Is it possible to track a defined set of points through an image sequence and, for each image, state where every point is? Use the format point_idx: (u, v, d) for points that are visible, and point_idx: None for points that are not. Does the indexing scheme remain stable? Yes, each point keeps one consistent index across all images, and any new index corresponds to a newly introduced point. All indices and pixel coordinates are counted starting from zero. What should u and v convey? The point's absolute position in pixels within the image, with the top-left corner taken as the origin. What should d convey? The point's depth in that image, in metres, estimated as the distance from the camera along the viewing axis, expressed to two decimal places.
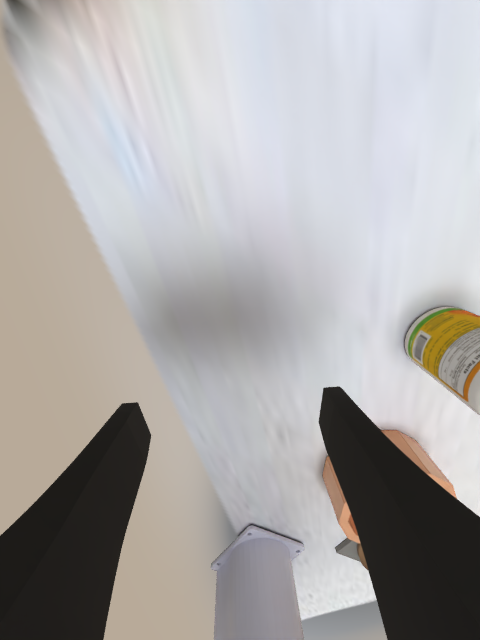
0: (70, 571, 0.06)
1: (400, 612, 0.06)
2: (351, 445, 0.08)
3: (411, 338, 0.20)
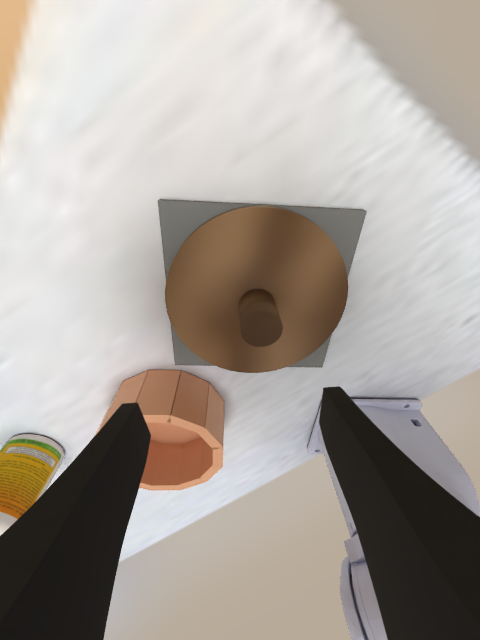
0: (70, 571, 0.06)
1: (400, 612, 0.06)
2: (351, 445, 0.08)
3: None
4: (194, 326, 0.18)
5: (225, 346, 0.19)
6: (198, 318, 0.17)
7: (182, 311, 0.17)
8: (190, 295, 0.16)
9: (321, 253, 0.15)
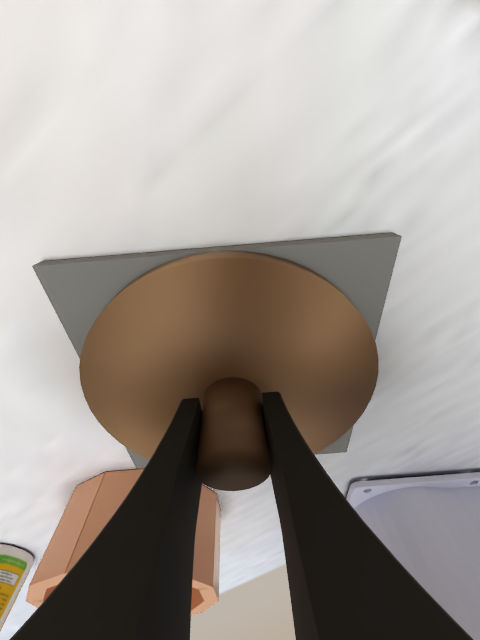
0: (171, 563, 0.06)
1: (298, 620, 0.06)
2: (274, 451, 0.08)
3: None
4: (144, 432, 0.12)
5: None
6: (147, 423, 0.11)
7: (120, 417, 0.11)
8: (125, 397, 0.10)
9: (327, 317, 0.09)
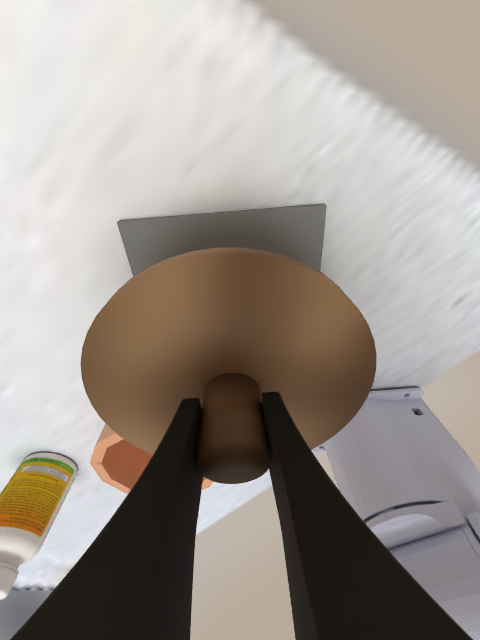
0: (171, 563, 0.06)
1: (298, 620, 0.06)
2: (273, 451, 0.08)
3: None
4: (145, 427, 0.12)
5: None
6: (147, 418, 0.11)
7: (121, 412, 0.11)
8: (126, 392, 0.11)
9: (325, 313, 0.09)
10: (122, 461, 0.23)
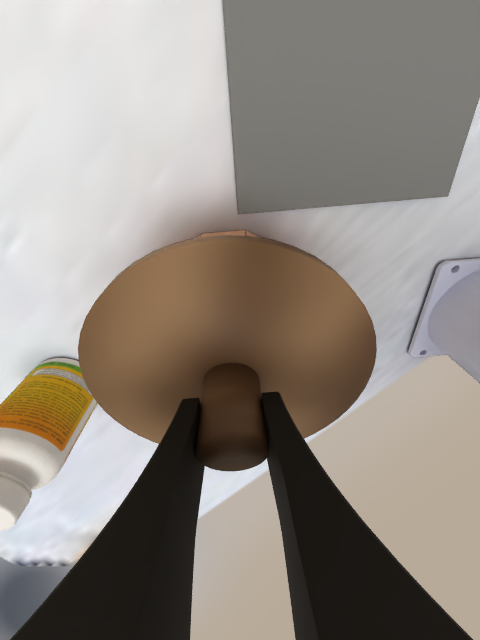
0: (171, 563, 0.06)
1: (298, 620, 0.06)
2: (273, 451, 0.08)
3: None
4: (141, 413, 0.12)
5: None
6: (145, 404, 0.11)
7: (118, 397, 0.11)
8: (124, 378, 0.10)
9: (331, 307, 0.09)
10: None
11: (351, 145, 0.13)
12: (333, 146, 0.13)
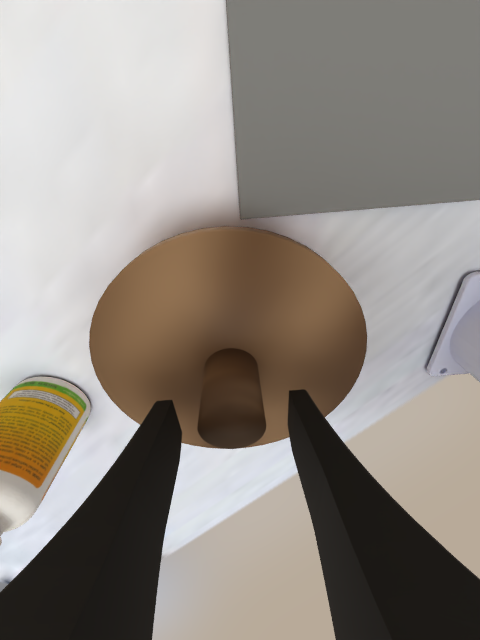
0: (127, 567, 0.06)
1: (343, 616, 0.06)
2: (307, 448, 0.08)
3: None
4: (145, 401, 0.12)
5: (194, 421, 0.13)
6: (149, 391, 0.12)
7: (123, 384, 0.12)
8: (130, 363, 0.11)
9: (322, 293, 0.10)
10: None
11: (374, 140, 0.11)
12: (352, 141, 0.11)
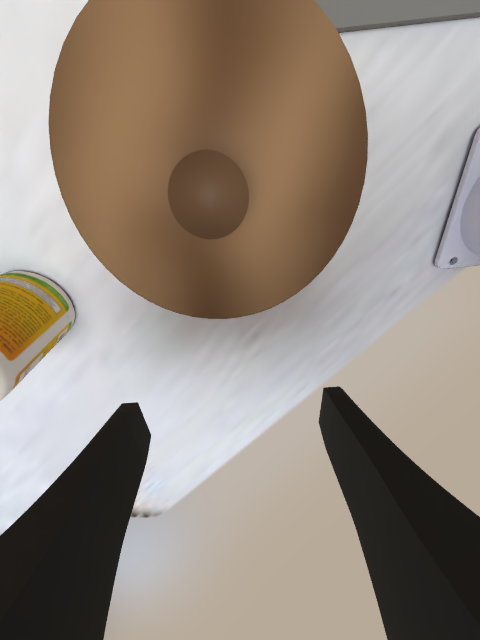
0: (70, 571, 0.06)
1: (400, 612, 0.06)
2: (351, 445, 0.08)
3: None
4: (120, 240, 0.11)
5: (177, 274, 0.12)
6: (123, 224, 0.11)
7: (94, 212, 0.10)
8: (99, 178, 0.10)
9: (314, 59, 0.08)
10: None
11: None
12: None
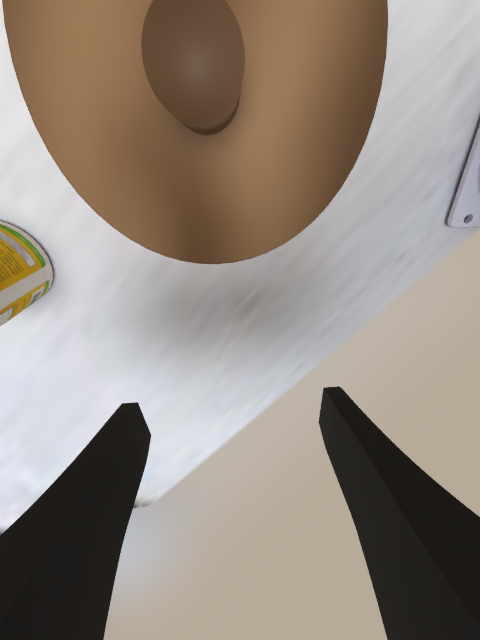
0: (70, 571, 0.06)
1: (400, 612, 0.06)
2: (351, 445, 0.08)
3: None
4: (94, 157, 0.09)
5: (161, 205, 0.10)
6: (97, 135, 0.09)
7: (61, 117, 0.09)
8: (66, 69, 0.08)
9: None
10: None
11: None
12: None
